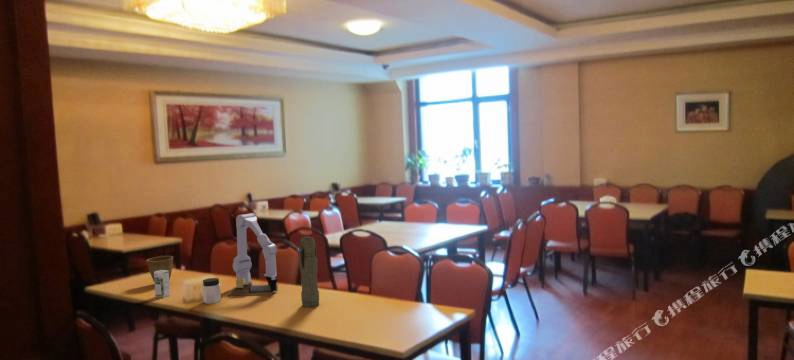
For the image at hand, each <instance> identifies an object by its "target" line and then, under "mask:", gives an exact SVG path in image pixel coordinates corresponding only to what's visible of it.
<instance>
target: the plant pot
mask: <svg viewBox="0 0 794 360" xmlns="http://www.w3.org/2000/svg"><path fill="white" fill-rule="evenodd" d="M146 263H147V267H148V271H149V274H150V276H151V278H152V280H153V283H154V284H155V281H154V272H155V271H158V270H166V271H168V270H169V281H170V279H171V277H172V272H173V263H174V256H172V255H160V256H156V257H155V256H154V257H151V258H148V259H146Z"/></svg>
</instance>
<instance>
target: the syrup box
mask: <svg viewBox="0 0 794 360" xmlns="http://www.w3.org/2000/svg"><path fill="white" fill-rule="evenodd" d="M154 281H155V283H154V293H155V294H154V296H155V298H159V299H160V298H161V299H164V298H167V297H170V296H171V291H170V290H171V288H170V280H169V270H168V271H166V270H158V271H155V272H154ZM154 281H153V282H154Z"/></svg>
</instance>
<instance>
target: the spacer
mask: <svg viewBox="0 0 794 360" xmlns="http://www.w3.org/2000/svg"><path fill="white" fill-rule="evenodd" d="M235 283H236V284H235V285H236V286H237V287H243V284H244V283H245V278H238V279H237V278H236V279H235ZM236 286H235V287H236Z"/></svg>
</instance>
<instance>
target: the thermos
mask: <svg viewBox="0 0 794 360" xmlns="http://www.w3.org/2000/svg"><path fill="white" fill-rule="evenodd" d="M297 254H298V267H299V272H300V274H301V275H300V276H301V293H300V295H301V297H300V298H301V305H302V306H301V307H303V308H306V307H310V308H315V306H316V307H318V306H319V305H320V290H319V288H318V271H319V269H318V263H319V262H318V260H319V259H318V246H317V245H316V242H315V239H314V237H313V236H303V237H301V239H300V243H299V249H298V253H297ZM317 305H318V306H317Z"/></svg>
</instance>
